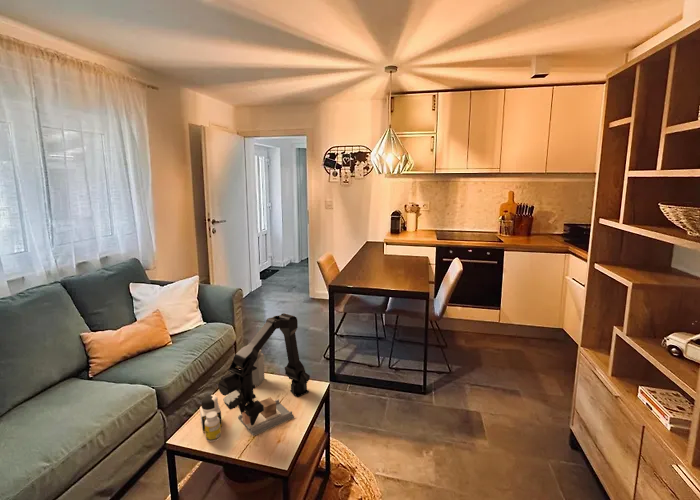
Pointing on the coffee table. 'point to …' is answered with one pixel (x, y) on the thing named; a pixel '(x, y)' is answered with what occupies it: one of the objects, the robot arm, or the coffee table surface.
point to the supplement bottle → (212, 427)
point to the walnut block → (268, 407)
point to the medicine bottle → (209, 409)
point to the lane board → (273, 422)
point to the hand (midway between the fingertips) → (247, 419)
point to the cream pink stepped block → (258, 419)
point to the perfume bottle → (259, 370)
